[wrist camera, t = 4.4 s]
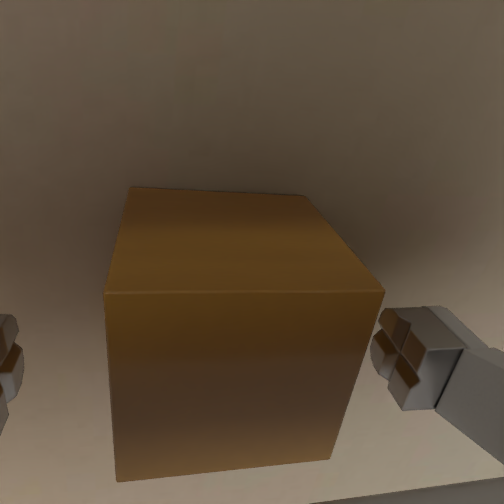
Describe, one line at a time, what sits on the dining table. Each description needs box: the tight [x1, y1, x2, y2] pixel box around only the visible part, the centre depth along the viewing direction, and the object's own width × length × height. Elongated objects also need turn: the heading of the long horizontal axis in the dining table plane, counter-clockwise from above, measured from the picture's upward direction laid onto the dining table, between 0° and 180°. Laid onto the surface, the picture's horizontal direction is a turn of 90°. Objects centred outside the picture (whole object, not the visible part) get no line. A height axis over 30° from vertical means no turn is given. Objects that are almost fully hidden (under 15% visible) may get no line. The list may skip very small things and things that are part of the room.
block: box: [103, 187, 385, 482], centre depth 9 cm, size 4×4×4 cm
